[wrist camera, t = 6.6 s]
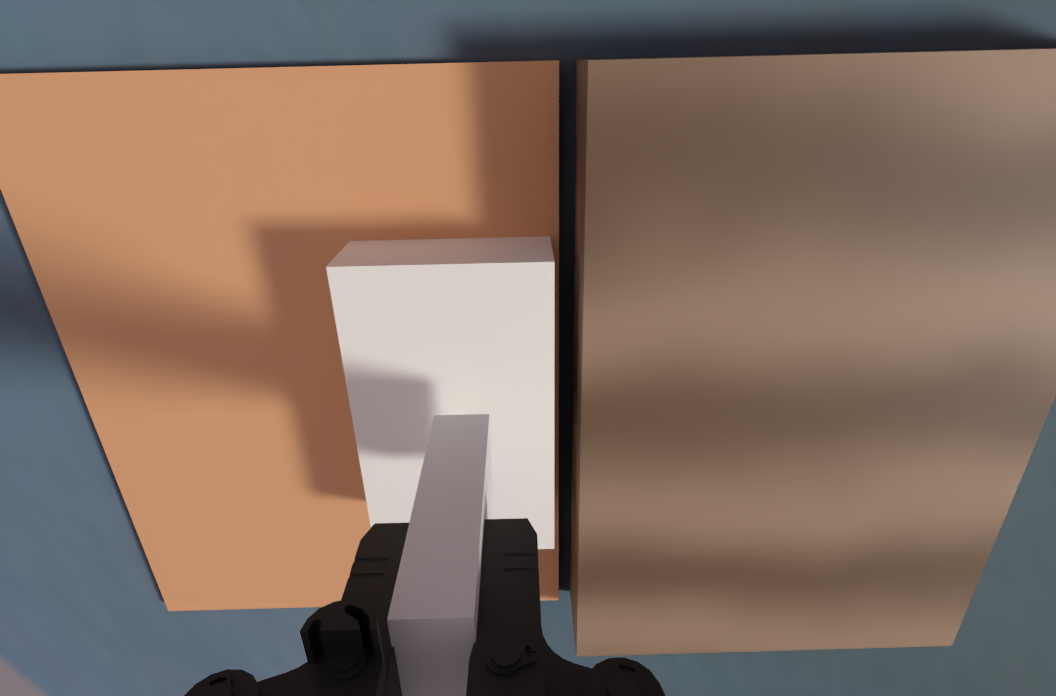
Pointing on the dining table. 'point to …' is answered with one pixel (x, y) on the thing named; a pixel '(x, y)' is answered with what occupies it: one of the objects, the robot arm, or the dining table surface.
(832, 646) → the board
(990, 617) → the dining table surface
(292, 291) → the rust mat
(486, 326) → the cream block
